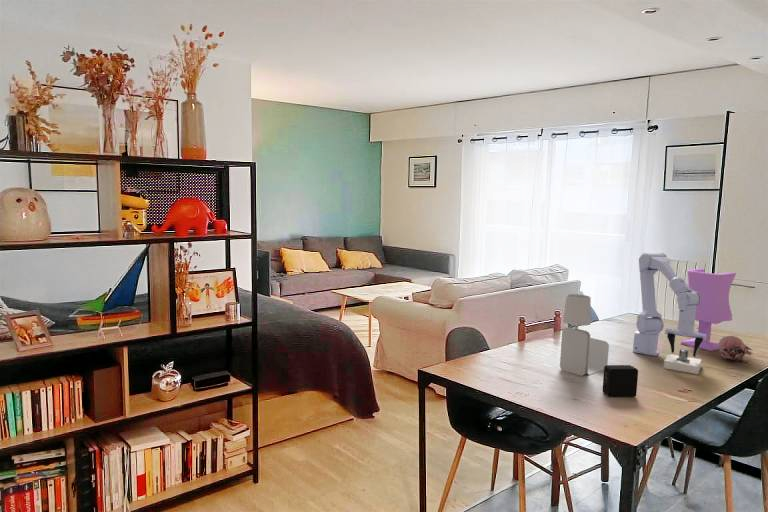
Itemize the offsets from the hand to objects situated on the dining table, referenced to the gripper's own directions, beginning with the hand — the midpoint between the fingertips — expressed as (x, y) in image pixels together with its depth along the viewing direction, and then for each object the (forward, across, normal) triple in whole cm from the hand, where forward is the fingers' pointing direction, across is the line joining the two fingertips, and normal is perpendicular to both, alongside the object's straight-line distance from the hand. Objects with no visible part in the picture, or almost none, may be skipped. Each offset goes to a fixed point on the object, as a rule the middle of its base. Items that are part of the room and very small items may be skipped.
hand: (683, 354), depth 219 cm
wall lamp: (+6, -32, -30) cm, 44 cm away
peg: (+6, 0, 0) cm, 6 cm away
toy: (+6, +17, +24) cm, 30 cm away
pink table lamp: (+6, +4, +44) cm, 44 cm away
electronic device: (+6, -14, -50) cm, 52 cm away
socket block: (+6, 0, 0) cm, 6 cm away
